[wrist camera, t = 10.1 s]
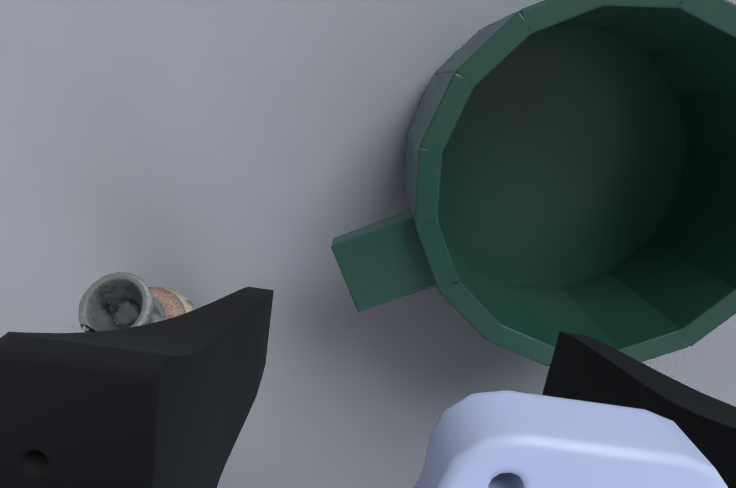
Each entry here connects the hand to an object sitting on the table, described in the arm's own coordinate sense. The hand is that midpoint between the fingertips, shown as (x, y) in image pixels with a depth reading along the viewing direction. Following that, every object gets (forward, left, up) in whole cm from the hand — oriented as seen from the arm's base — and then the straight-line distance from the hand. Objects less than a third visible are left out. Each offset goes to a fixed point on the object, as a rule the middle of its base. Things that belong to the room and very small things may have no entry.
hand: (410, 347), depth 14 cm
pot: (+4, -5, -9) cm, 12 cm away
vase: (-4, +9, -10) cm, 13 cm away
